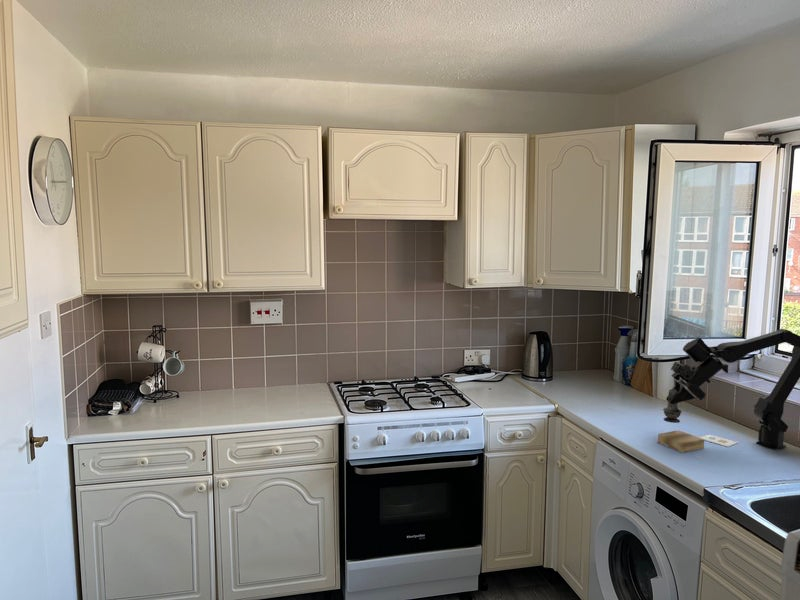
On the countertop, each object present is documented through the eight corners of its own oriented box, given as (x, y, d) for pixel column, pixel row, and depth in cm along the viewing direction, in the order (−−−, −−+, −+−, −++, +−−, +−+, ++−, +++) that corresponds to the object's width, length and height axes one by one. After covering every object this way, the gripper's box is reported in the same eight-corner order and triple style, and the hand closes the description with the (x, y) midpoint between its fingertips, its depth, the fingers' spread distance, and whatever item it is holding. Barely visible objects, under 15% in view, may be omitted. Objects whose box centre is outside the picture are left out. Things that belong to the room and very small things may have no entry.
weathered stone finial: (663, 416, 205) (665, 383, 204) (681, 419, 202) (683, 385, 201) (661, 421, 200) (663, 387, 199) (680, 424, 197) (682, 389, 196)
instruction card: (738, 443, 198) (738, 442, 198) (727, 447, 194) (727, 446, 194) (708, 434, 206) (708, 433, 206) (698, 438, 202) (698, 437, 202)
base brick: (703, 448, 193) (704, 439, 193) (682, 452, 189) (683, 443, 189) (678, 438, 202) (678, 430, 202) (657, 442, 198) (658, 433, 198)
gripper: (679, 349, 207) (645, 378, 210) (697, 360, 189) (659, 391, 192) (701, 372, 207) (667, 400, 210) (721, 384, 188) (683, 416, 191)
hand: (668, 401), depth 201 cm, fingers closed on weathered stone finial, 4 cm apart
